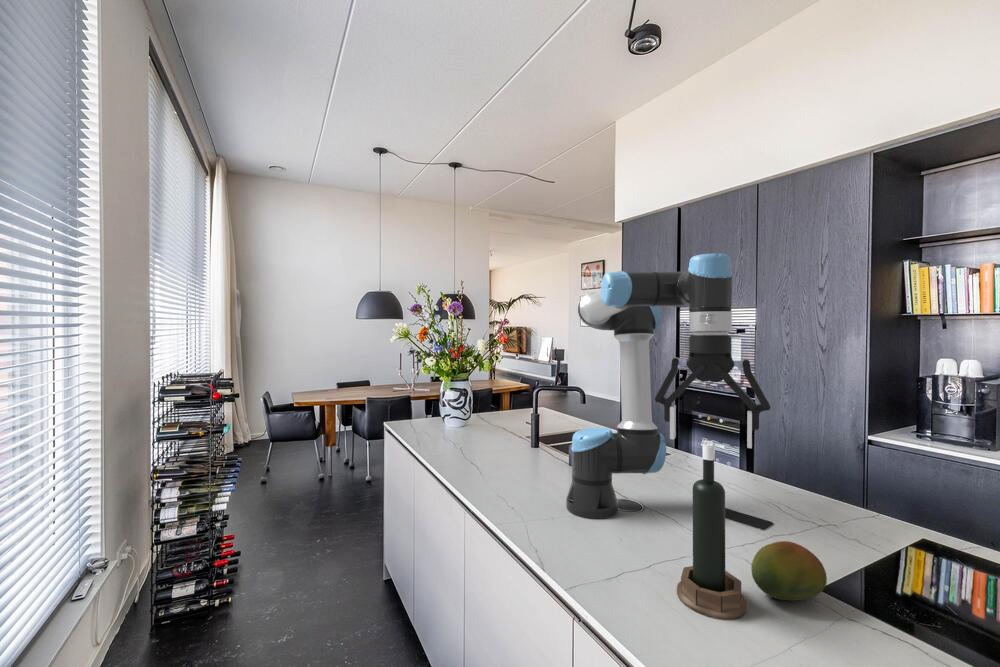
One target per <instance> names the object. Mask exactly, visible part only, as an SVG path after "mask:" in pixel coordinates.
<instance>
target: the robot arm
mask: <svg viewBox="0 0 1000 667" xmlns="http://www.w3.org/2000/svg"><path fill="white" fill-rule="evenodd" d="M688 263H689V265H688V268H687V271H623V270H619V271H611V272H606V273H605V274H604V275H603V276H602V280H601V281H600V282H601V283H600V288H599V290H597V291H592V292H588V293H587V294H585V295H584V296H583V297H582V298H581V299H580V301H578V302H579V303H578V306H577V314H578V316H579V319H580V320H581V321H582V322H583V323H584V325H586V326H588V327H590V328H592V329H595V330H601V331H613V337H614V338H615V339H616V340H617V341H618V343H619V365H620V366H619V369H620V371H619V372H620V397H621V398H620V399H621V400H620V401H621V421H620V423H618V424H617V425H616V430H617V431H616V432H613V431H612V429H611V428H609V427H606V426H603V427H600V426H596V427H595V426H593V427H587V428H583V429H582V428H581V429H580V430H577V431H576V432H574V433H573V435H572V441H571V447H570V448H571V478H572V479H571V484H570V486H569V488H568V489H569V490H568V493H567V496H566V499H565V501H566V502H565V507H566V509H567V510H568V512H570V513H572V514H573V515H575V516H578V517H582V518H588V519H606V518H607V519H608V518H611V517H613V516H616V515H617V514H618V513H619V501H618V498H617V494H616V492H615V488H614V486H613V474H642V475H646V474H655V473H658V472H660V471H661V470H662V468H664V464H665V462H666V456H667V443H666V438H665V437H664V435H663V434H662V433H661V432H659V431H658V426H657V425H656V424H655V423H654V422H653V417H652V414H653V413H652V391H651V390H652V389H651V388H652V387H651V369H650V368H651V365H650V340H651V339H652V338H653V337H654V335H655V333H654V332H655V331H656V330H658V329H659V328H660V325H661V317H662V316H661V308H660V307H676V308H688V312H689V314H688V317H689V318H688V330H689V332H690V333H692V334H690V335H689V336H688V358H687V359H685V358H680V357H677V356H676V357H674V358H672V360H671V368H670V370H669V372H668V374H667V375H666V377H665V379H664V380H663V383H662V384H661V386H660V389H659V390H658V392H657V394H656V395H655V398H654V401H655V403H660V404H661V405H663V407H664V408H663V409H664V410H663V412H664V413H663V414H664V415H663V416H664V422H666V423H667V422H668V423H669V440H675V439H676V437H677V430H676V429H677V423H676V422H677V419H676V418H677V412H676V410H677V405H676V404H673V402H674V401H676V400H677V398H678V397H679V396H680V395H681V394H682V393H683V392H684V391H685V390H686V389H687V388H688V387H690V385H691V384H692V383H693V382H694V380H696V379H697V380H698V381H700V382H702V383H703V382H704V383H705V382H712V383H719V382H722V381H723V382H725V383H726V385H728V386H729V388H730V389H731V390H732V391H733V392H734V393H735V394H736V395H737V397H738V398H739V399H740V400H741V401H742V402H743V403H744V404H745V406H747V408H748V409H749V410H747V413H746V414H747V416H746V417H747V418H746V419H747V420H746V424H747V425H746V426H747V427H746V428H747V429H746V434H747V435H746V437H747V438H746V442H747V443H746V446H747V449H753V434H752V433H753V431H758V430H759V428H760V413H762V412H765V411H770V410H771V405H770V403H769V400H768V399H767V397H766V395H765V394H764V393H765V392H764V391H763V390H762V388H761V386H760V384H759V382H758V381H757V379H756V377H755V376H754V373H753V372H752V370H751V369H752V368H751V361H750V360H749V359H747V358H745V359H743V360H733V358H732V353H733V352H732V348H733V347H732V339H733V338H732V336H731V335H729V333H731V332H732V331H733V330H732V328H733V327H732V326H733V325H732V323H733V320H732V318H733V316H732V315H733V314H732V306H733V305H732V304H733V303H732V299H733V298H732V296H733V295H732V294H733V292H732V291H733V274H734V273H733V272H732V258H731V257H730V256H729V255H728V254H726V253H703V254H697V255H693V256H692V257H690V259H689V262H688ZM684 365H685V366H687V368H688V369H689V371H690V372H691V373H690V374H689V375H688V376H687V377H686V379H684V380H683V382H682V383H681V384H680V385H679V386H678V387H677V388H676V389H675V390H674V391H673V392H672V393H671V394H670V395H669V396H668V397H665V396H666V393H667V392H668V390H669V388H670V387H671V385H672V383H673V381H674V380H675V377H676V376H677V374H678V372H679V370H681V369H683V367H684ZM735 367H736V368H737V369H738V370H739V372H741V373H742V372H743V374H744V376H745V378H746V380H747V381H748V383H749V385H750V387H751V389H752V391H753V392H754V395H755V396H756V398H757V399H758V401H759V403H756V402H755V401H754V400H753V399H752V398H751V397H750V395H748V393H747V392H746V391H745V390H744V389H743V388H742V387H741V385H739V384H738V382H737V381H736V380H735V379H734V378H733V377H732V376H731V375H730V373H731V371H732V370H733V369H734V368H735Z"/></svg>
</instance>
